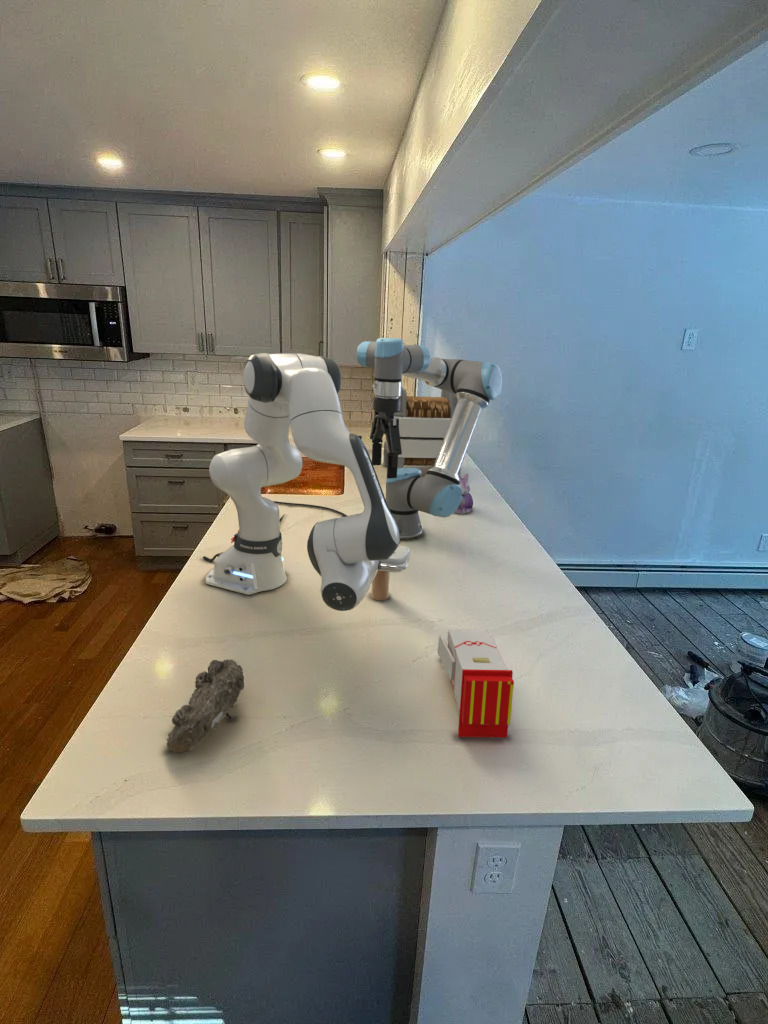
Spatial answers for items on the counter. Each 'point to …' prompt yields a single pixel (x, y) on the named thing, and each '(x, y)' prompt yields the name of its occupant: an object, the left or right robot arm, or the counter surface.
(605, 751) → the counter surface
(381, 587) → the jar
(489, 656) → the toy
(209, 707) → the fossil
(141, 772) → the counter surface
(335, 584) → the left robot arm
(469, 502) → the figurine
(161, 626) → the counter surface
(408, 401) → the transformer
